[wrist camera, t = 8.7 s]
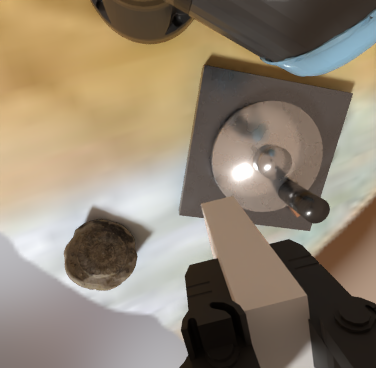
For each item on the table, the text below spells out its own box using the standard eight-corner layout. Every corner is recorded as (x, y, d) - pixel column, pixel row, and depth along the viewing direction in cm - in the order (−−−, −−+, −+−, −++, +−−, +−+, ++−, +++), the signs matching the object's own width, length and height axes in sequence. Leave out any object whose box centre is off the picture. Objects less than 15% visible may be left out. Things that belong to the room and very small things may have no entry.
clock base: (202, 67, 38) (210, 58, 31) (344, 94, 40) (379, 91, 33) (178, 210, 43) (181, 229, 37) (303, 225, 46) (327, 246, 39)
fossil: (140, 217, 43) (134, 276, 35) (139, 248, 49) (134, 303, 42) (69, 214, 41) (48, 275, 34) (78, 246, 48) (62, 303, 40)
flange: (189, 146, 38) (196, 158, 29) (284, 76, 36) (321, 67, 27) (256, 238, 43) (279, 272, 34) (342, 181, 41) (389, 201, 32)
